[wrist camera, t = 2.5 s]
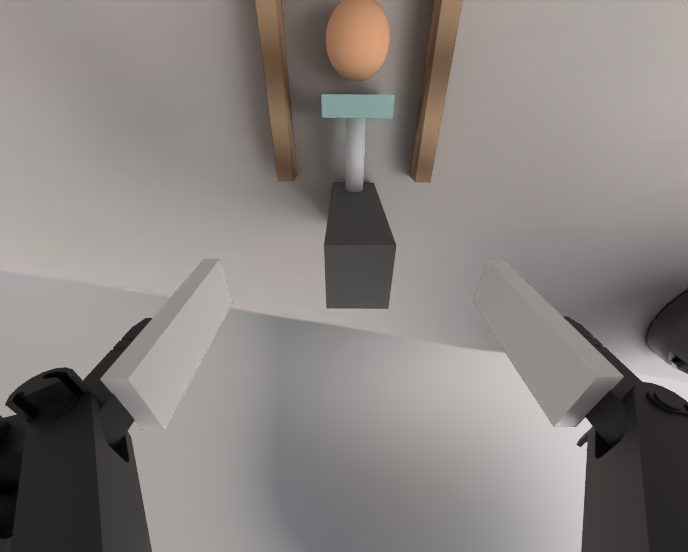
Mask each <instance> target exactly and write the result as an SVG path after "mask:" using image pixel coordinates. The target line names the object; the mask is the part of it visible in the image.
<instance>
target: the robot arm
mask: <svg viewBox="0 0 688 552" xmlns="http://www.w3.org/2000/svg"><path fill="white" fill-rule="evenodd" d="M232 303H233V302H232V299H231V296H230V292H229V289H228V285H227V282H226V279H225V275H224V272H223V268H222V265H221V262H220V259H203V260H202V262H201V263H200V264H199V265H198V266H197V267H196V269H195V270H194V271H193V272H192V273H191V274H190V276H189V277H188V278H187V279H186V280H185V281H184V282H183V284H182V285H181V286H180V287H179V288H178V289H177V291H176V292H175V293H174V294H173V295H172V296H171V298H170V299H169V300H168V301H167V302H166V303H165V305H164V306H163V307H162V308H161V309H160V310H159V311H158V313H157V314H156V315H155V316H154V317H153V318H145V319H144V320H142V321H141V322H139V323H138V324H136V325H135V326H133V327H132V328H131V329H130V330H129V331H128V332H127V333H126V334H125V336H124V337H123V338H122V340H121V341H119V342H118V343H117V344H116V345H115V346H114V349H113V350H111V351H110V352H109V353H108V354H107V355H106V356H105V357H104V358H103V359H102V361H101V362H100V363H99V364H98V365H97V366H96V367H95V368H94V369H93V370H92V372H91V373H90V374H89V375H88V376H87V377H86V378H85V379H84V380H83V381H82V379H81V378H80V377H79V376H78V375H77V374H76V373H75V372H74V370H73V369H69V368H66V367H65V368H56V369H52V370H49V371H46V372H43V373H41V374H39V375H37V376H35V377H33V378H31V379H29V380H28V381H26V382H25V383H23V384H22V385H21V386H19V387H18V388H17V389H16V390H15V391H14V392H13V393H12V394H11V395H10V396H9V398H8V400H7V402H6V404H5V405H6V406H8V407H9V408H10V409H11V410H13V411H14V412H15V413H16V414H17V415H13V416H9V417H6V418H3V417H1V416H0V552H152V550H151V544H150V538H149V533H148V528H147V522H146V516H145V511H144V505H143V500H142V494H141V489H140V483H139V479H138V472H137V467H136V462H135V456H134V451H133V445H132V440H131V436H130V435H129V433H128V429H129V428H130V426H131V425H132V423H133V422H134V421H135V422H136V423H137V425H138V426H139V427H140V428H141V429H142V430H165V429H166V427H167V425H168V423H169V421H170V419H171V417H172V416H173V413H174V411H175V410H176V408H177V406H178V404H179V402H180V400H181V399H182V396H183V395H184V393H185V391H186V389H187V387H188V386H189V384H190V382H191V380H192V378H193V376H194V374H195V372H196V371H197V369H198V367H199V365H200V363H201V361H202V359H203V357H204V356H205V354H206V352H207V350H208V348H209V346H210V344H211V343H212V340H213V339H214V337H215V335H216V333H217V331H218V329H219V328H220V325H221V324H222V322H223V320H224V318H225V316H226V314H227V313H228V311H229V309H230V307H231V305H232ZM473 304H474V305H475V307H476V308H477V310H478V311H479V313H480V314H481V316H482V318H483V319H484V321H485V322H486V324H487V325H488V327H489V328H490V330H491V331H492V333H493V334H494V336H495V337H496V339H497V341H498V342H499V344H500V345H501V347H502V348H503V350H504V351H505V353H506V354H507V356H508V357H509V359H510V361H511V362H512V364H513V365H514V367H515V368H516V370H517V371H518V373H519V374H520V376H521V377H522V379H523V380H524V382H525V384H526V385H527V387H528V388H529V390H530V391H531V393H532V394H533V396H534V397H535V399H536V400H537V402H538V403H539V405H540V407H541V408H542V410H543V411H544V413H545V414H546V416H547V417H548V419H549V420H550V422H551V424H552V425H553V427H576V426H577V425H578V424H579V423H580V422H581V421H582V420H583V419H584V418H585V417H586V418H587V419H588V420H589V422H590V423H591V424H592V426H593V427H592V428H591V429H590V430H589V431H588V432H587V433H585V434H584V435H583V436H582V437H581V438H580V440H579V441H578V443H577V445H578V446H580V447H581V446H582V445H583V444H584V443H585V442H588V445H587V464H586V480H585V498H584V517H583V533H582V534H583V535H582V551H581V552H688V402H687V401H686V400H684V399H683V398H681V397H680V396H678V395H677V394H676V393H674V392H672V391H670V390H668V389H666V388H664V387H662V386H659V385H656V384H653V383H646V382H642V381H641V380H639V378H637V377H636V376H635V375H634V374H633V373H632V372H631V371H630V370H629V369H628V368H627V367H626V366H625V365H624V364H623V363H621V362H620V361H619V360H618V359H617V358H616V357H615V356H614V355H613V354H612V353H611V352H610V351H609V350H608V349H607V348H605V347H603V345H602V344H601V343H600V342H599V341H598V340H597V339H596V338H593V335H592V334H590V333H589V332H588V331H587V330H586V329H585V328H584V327H583V326H582V325H580V324H579V323H577V322H575V321H574V320H572V319H570V318H569V317H567V316H562V315H561V314H560V313H559V312H558V311H557V310H556V309H554V308H553V307H552V306H551V305H550V304H549V303H548V302H547V301H546V300H545V299H544V298H543V297H542V296H541V295H540V294H539V293H538V292H537V291H536V290H535V289H534V288H533V287H532V286H531V285H530V284H529V283H528V282H527V281H526V280H525V279H524V278H523V277H522V276H521V275H520V274H519V273H518V272H517V271H516V270H515V269H514V268H512V267H511V266H510V265H509V264H508V263H507V262H506V261H505V260H504V259H488V261H487V264H486V267H485V269H484V272H483V275H482V278H481V281H480V284H479V286H478V289H477V292H476V295H475V298H474V300H473ZM647 343H648V346H649V348H650V349H651V350H652V351H653V352H654V353H655V354H656V355H658V356H659V357H660V358H661V359H663V360H664V361H665V362H666V363H668V364H669V365H671V366H673V367H674V368H676V369H679V370H681V371H683V372H685V373H687V374H688V291H687V292H686V293H684V294H683V295H681V296H680V297H679V298H677V299H676V300H675V301H673V302H672V303H671V304H670V305H669V306H667V307H666V308H665V309H664V310H663V311H662V312H661V313H660V314H659V316H658V317H657V318H656V319H655V321H654V322H653V324H652V325H651V327H650V329H649V332H648V335H647Z"/></svg>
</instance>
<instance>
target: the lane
mask: <svg viewBox="0 0 688 552" xmlns="http://www.w3.org/2000/svg"><path fill="white" fill-rule="evenodd" d="M462 1H463V0H434V5H433V12H432V19H431V27H430V34H429V41H428V49H427V56H426V63H425V71H424V78H423V85H422V93H421V100H420V107H419V115H418V122H417V129H416V137H415V144H414V151H413V159H412V166H411V173H410V177H411V178H412V179H413V180H414V181H415V182H430V181H431V175H432V169H433V164H434V158H435V153H436V147H437V141H438V136H439V130H440V125H441V119H442V113H443V108H444V102H445V97H446V91H447V85H448V80H449V74H450V69H451V63H452V57H453V52H454V46H455V41H456V35H457V29H458V24H459V18H460V13H461V7H462ZM255 4H256V12H257V20H258V28H259V36H260V43H261V51H262V59H263V67H264V75H265V83H266V91H267V98H268V106H269V114H270V122H271V130H272V138H273V146H274V154H275V161H276V169H277V177H278V181H294V179H295V178H296V176H297V172H296V161H295V150H294V138H293V127H292V116H291V104H290V93H289V82H288V71H287V59H286V48H285V37H284V25H283V14H282V3H281V0H255Z"/></svg>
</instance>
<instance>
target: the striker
mask: <svg viewBox="0 0 688 552" xmlns="http://www.w3.org/2000/svg"><path fill="white" fill-rule="evenodd" d="M394 98H395V95H357V94H321V103H322V118H346V173H345V183H333V187H332V194H331V201H330V208H329V215H328V222H327V229H326V235H325V242H324V254H325V279H326V305H327V308H365V309H388V306H389V298H390V290H391V282H392V275H393V267H394V259H395V251H396V243H395V241H394V238H393V235H392V232H391V230H390V227H389V224H388V221H387V219H386V216H385V213H384V210H383V207H382V205H381V202H380V199H379V196H378V194H377V191H376V188H375V185H374V183H363V177H364V155H365V132H366V118H393V109H394Z"/></svg>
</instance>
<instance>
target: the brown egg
mask: <svg viewBox="0 0 688 552" xmlns="http://www.w3.org/2000/svg"><path fill="white" fill-rule="evenodd" d="M389 45H390V28H389V23H388V20H387V17H386V15H385V12H384V11H383V9H382V8H381V6H380V5H379V4H378V3H377V2H376V1H375V0H343V1H342V2H341V3H340V4H338V6H337V7H336V8H335V9H334V11H333V13H332V15H331V17H330V19H329V22H328V25H327V30H326V49H327V53H328V57H329V59H330V62H331V64H332V66H333V67H334V69H335V70H336V71H337V72H338V73H339V74H340V75H341V76H343V77H344V78H346V79H348V80H352V81H362V80H365V79H368V78H370V77H371V76H373V75H374V74H375V73H376V72H377V71H378V70H379V69H380V68H381V66H382V65H383V63H384V61H385V59H386V56H387V53H388V50H389Z"/></svg>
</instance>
